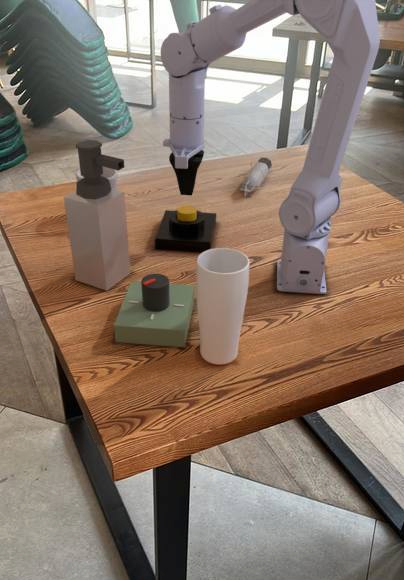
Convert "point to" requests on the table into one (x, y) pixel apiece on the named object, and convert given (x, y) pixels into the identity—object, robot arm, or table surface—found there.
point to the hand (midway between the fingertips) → (186, 193)
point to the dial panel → (155, 318)
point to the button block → (186, 232)
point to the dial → (155, 292)
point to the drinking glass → (221, 302)
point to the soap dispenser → (97, 221)
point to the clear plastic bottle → (256, 175)
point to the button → (186, 213)
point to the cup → (107, 173)
